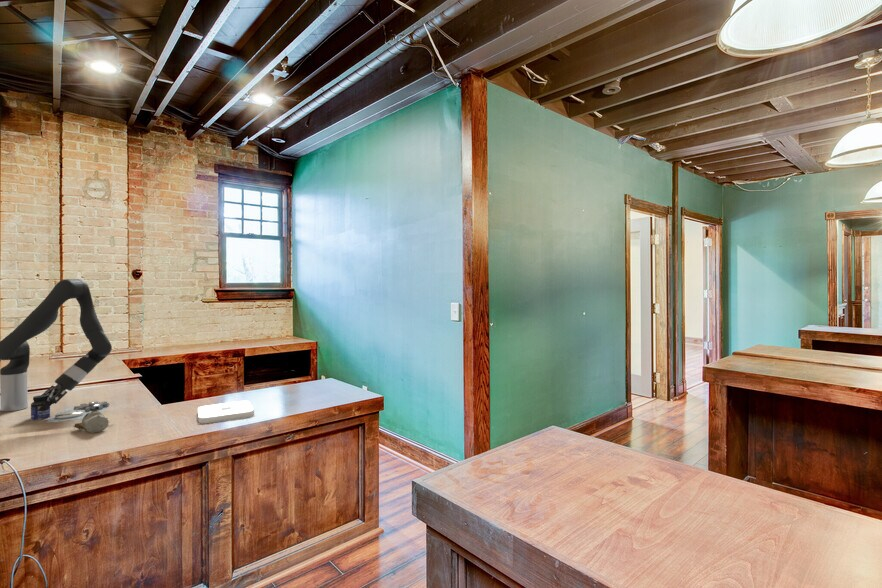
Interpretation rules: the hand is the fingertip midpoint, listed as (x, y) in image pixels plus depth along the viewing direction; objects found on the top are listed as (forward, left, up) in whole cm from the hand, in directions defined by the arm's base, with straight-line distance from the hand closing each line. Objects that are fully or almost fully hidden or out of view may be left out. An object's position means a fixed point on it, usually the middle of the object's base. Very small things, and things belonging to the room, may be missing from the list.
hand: (38, 408), depth 185 cm
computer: (+24, +73, -6) cm, 77 cm away
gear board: (-2, +14, -6) cm, 15 cm away
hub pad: (+1, +11, -4) cm, 12 cm away
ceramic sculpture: (+24, +25, -6) cm, 35 cm away
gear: (-9, +16, -4) cm, 19 cm away
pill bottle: (0, +1, -6) cm, 6 cm away
